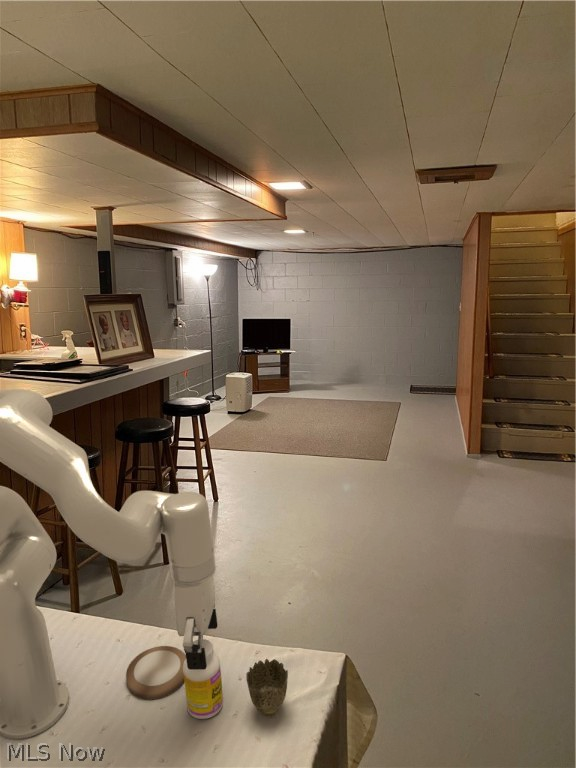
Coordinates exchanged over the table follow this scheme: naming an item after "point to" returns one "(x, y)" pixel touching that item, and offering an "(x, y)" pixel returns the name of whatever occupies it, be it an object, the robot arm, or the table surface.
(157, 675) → the plate
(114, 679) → the table surface
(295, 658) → the table surface
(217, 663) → the supplement bottle
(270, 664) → the brown scalloped shell
